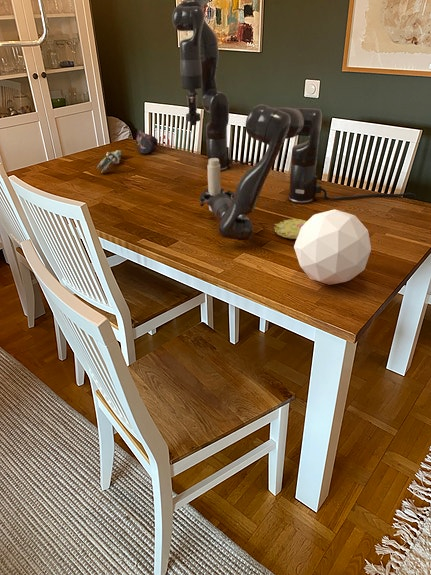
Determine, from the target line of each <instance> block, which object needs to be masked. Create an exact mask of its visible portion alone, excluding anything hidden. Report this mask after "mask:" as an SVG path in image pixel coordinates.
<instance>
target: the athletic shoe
mask: <svg viewBox="0 0 431 575" xmlns="http://www.w3.org/2000/svg"><path fill="white" fill-rule="evenodd" d="M158 141H159V140H158V139H157V138H156V137H155V136H153V135H152V134H149V133H146V132H143V131H142V130H137V132H136V137H135V145H137V150H138V152H139V153H140V154H142V155H144V154H150V153H152V152H153V151H154V150H155V149H156V146H158V145H159V146H160V145H162V143H160V142H158Z"/></svg>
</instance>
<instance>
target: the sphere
mask: <svg viewBox="0 0 431 575" xmlns="http://www.w3.org/2000/svg"><path fill="white" fill-rule="evenodd" d="M306 221H307V222H306V223H305V224H304V225H303V226H302V227H301V229H300V232H299V234H298V237H297V239H295V242H294V244H293V249H294V252H295V255H296V258H297V261H298V265H299V266H300V269H302V271H303V272H304V273H305V275H306V276H307V277H308V278H309V279H310V280H312V281H316V282H319V283H322V284H325V285H328V286H331V285H336V284H342V283H346V282H348V281H351V280H352V279H354V278H356V277H357V276H358V275H359V274H361V273H362V272H363V271H364V270H365V269H366V266H367V264H368V260H369V257H370V254H371V252H372V245H371V239H370V234H369V233H370V232H369V230H368V228H366V226H365V225H364V224H363V223H362V221H361V220H360V219H359V218H358V217H357V216H356V215H355V214H351V213H349V212H345V211H342V210H338V209H335V208H334V209H331V210H327V211H322V212H318V213H315V214H313V215H312V216H311V217H310V218H309V219H308V220H306Z"/></svg>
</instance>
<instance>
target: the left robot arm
mask: <svg viewBox="0 0 431 575" xmlns="http://www.w3.org/2000/svg"><path fill="white" fill-rule="evenodd" d="M210 1H211V0H183V1H182V2H180V3H179V4H177V5H176V7H175V8H174V9H173V12H172V16H171V22H172V25H173V27H174V29H175V30H177V31H179V32H192V35H191V37H188V38H185V39H182V40H181V41H180V42H179V56H180V57H179V58H180V62H179V69H180V70H179V71H180V86H181V88H182V90H183V89H184V90H188V92H187V93H186V100H187V108H188V113H189V114H190V122H189V123H190V126H197V122H196V113H198V112H197V111H198V102H199V100H198V99H199V93H198V92H197V90H199V89H200V92H201V105H202V107H203V109H204V111H206V112H207V113H209V122H207V123H206V125H205V128H206V129H205V134H206V158H207V159H206V160H207V163H206V165H208V159H211V158H217V159H219V164H220V172H223V171H226V170H227V169H229V168H230V165H233V162H234V163H238V164H241V165H248V164H251V163H252V160H250V161H249V160H248V161H245V162H243V161H241V160H237V159H233V158H231V157H230V148H229V146H228V125H229V119H230V100H229V97H228V96H227V94H226V93H224V92H221V91H219V90H218V84H217V70H218V65H219V60H220V52H219V44H218V38H217V36H216V33H215V32H214V31H213V29H212V28H211V27H210V25H209V24H208V22H207V20H205V12H204V9H205V7H206V6H207V5H208V3H209V2H210Z"/></svg>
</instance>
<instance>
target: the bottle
mask: <svg viewBox="0 0 431 575" xmlns="http://www.w3.org/2000/svg"><path fill="white" fill-rule="evenodd" d="M206 165H207V164H206ZM206 168H207V190H208V192H209V193H212V194H214V195H217V194H220V193H221V188H222V178H221V175H222V173H221V171H220V164H219V159H217V158H211V159H208V165H207V166H206ZM208 211H210V212H212V213H213V211H212V209H211V207H210V206H209V205H208Z"/></svg>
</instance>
